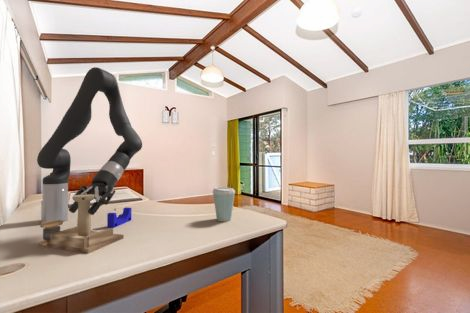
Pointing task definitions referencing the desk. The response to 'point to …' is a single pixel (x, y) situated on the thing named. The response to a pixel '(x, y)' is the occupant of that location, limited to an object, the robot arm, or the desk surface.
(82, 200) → the handle
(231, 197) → the disposable coffee cup
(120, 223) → the cable clip
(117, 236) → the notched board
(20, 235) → the desk surface
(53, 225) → the bobbin
